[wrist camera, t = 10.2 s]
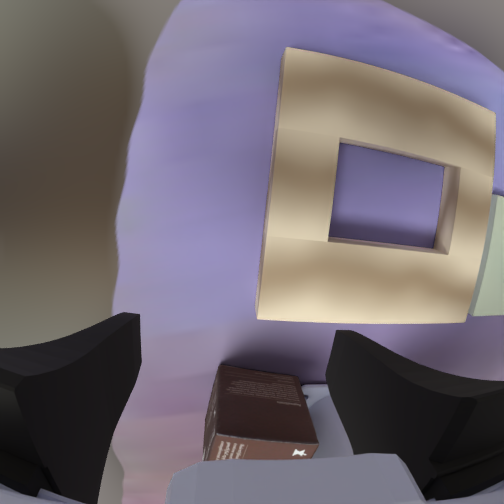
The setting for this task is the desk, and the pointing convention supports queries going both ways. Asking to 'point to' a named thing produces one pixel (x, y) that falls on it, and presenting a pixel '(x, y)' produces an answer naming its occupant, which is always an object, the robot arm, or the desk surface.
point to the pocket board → (322, 192)
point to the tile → (491, 266)
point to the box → (257, 417)
